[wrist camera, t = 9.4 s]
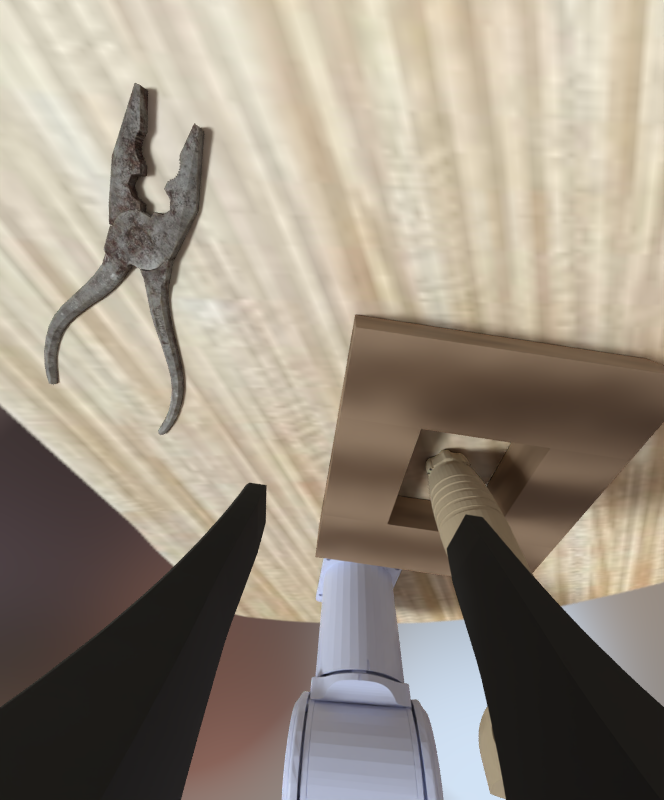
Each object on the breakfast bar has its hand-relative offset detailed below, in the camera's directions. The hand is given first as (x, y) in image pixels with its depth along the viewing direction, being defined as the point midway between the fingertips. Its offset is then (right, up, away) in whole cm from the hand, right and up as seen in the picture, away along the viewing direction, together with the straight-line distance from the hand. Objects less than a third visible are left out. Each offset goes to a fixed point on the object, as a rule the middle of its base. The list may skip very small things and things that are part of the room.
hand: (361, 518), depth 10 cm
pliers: (-15, +11, +8) cm, 20 cm away
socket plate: (+8, 0, +12) cm, 14 cm away
